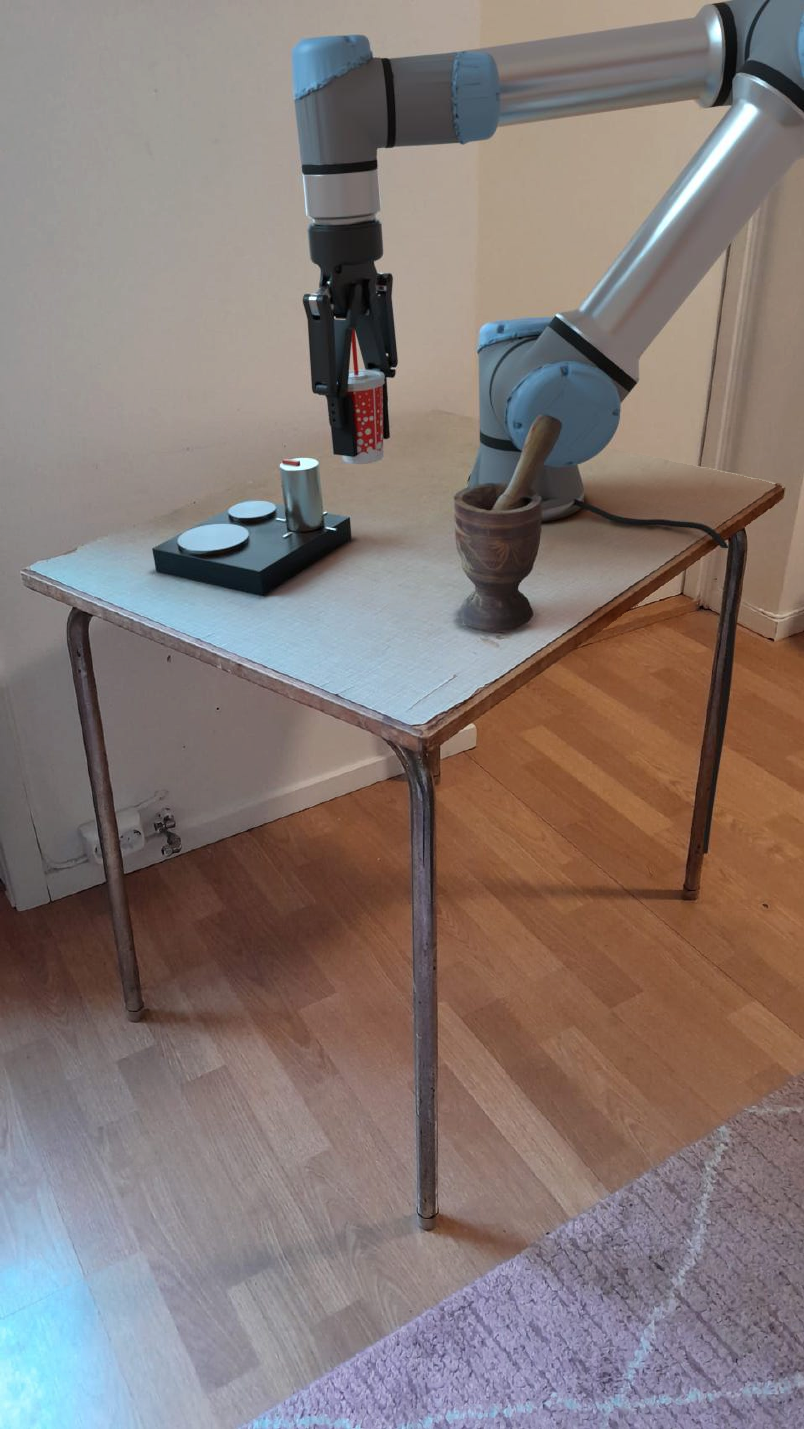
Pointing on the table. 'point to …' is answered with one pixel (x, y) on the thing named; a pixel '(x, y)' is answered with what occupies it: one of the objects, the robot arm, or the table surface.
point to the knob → (302, 494)
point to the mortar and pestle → (503, 536)
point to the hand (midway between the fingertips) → (362, 445)
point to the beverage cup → (366, 411)
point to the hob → (256, 553)
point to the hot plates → (225, 530)
